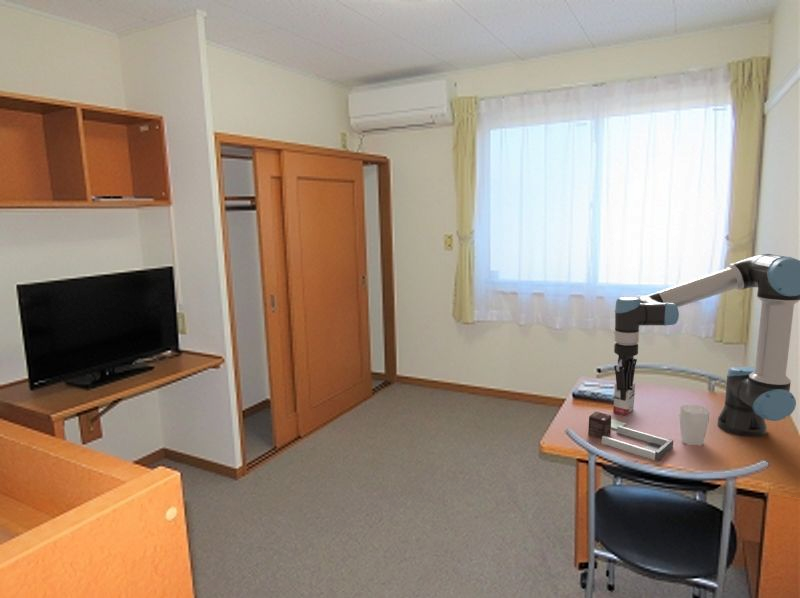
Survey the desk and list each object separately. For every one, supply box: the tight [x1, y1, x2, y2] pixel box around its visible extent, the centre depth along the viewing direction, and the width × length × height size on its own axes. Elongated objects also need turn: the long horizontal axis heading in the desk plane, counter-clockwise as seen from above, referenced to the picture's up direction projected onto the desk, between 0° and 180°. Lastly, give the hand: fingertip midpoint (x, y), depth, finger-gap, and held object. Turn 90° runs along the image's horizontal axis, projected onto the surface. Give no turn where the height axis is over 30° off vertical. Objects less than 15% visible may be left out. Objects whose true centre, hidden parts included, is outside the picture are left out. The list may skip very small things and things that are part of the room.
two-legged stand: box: [601, 425, 674, 461], centre depth 183 cm, size 19×13×3 cm
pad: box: [611, 418, 627, 431], centre depth 201 cm, size 7×7×1 cm
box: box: [587, 411, 612, 440], centre depth 192 cm, size 6×6×7 cm
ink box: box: [612, 381, 636, 416], centre depth 213 cm, size 8×5×12 cm, turn 134°
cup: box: [678, 404, 710, 446], centre depth 184 cm, size 9×9×12 cm
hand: (624, 407), depth 185 cm, fingers closed
